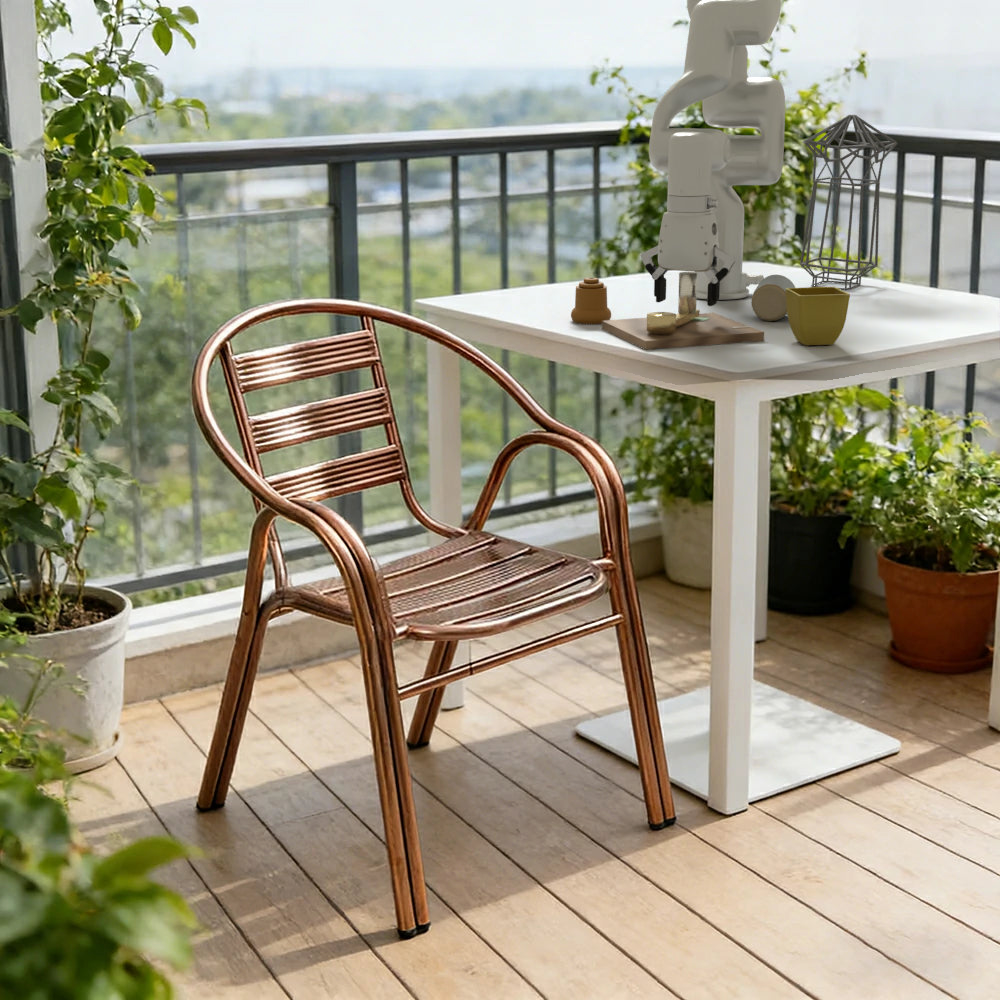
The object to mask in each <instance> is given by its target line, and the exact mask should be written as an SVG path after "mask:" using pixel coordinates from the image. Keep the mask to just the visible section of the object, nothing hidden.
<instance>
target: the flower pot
mask: <svg viewBox="0 0 1000 1000" xmlns="http://www.w3.org/2000/svg"><path fill="white" fill-rule="evenodd" d="M838 288H839V287H836V286H823V287H811V286H810V287H809V286H808V287H806V286H805V287H795V288H786V301H787V313H788V315H787V319H788V323H789V327H790V329H791V331H792V333H793V335H794V338H795V340H796V341H797V342H799V343H800V344H802V345H804V346H806V347H807V346H808V347H810V346H825V345H826V346H831V345H834V344H835V343H836V342H837V340H838V339H839V337H840V336H841V334H842V332H843V329H844V328H845V324H846V319H847V317H848V316H847V315H848V308H849V304H850V297H851V294H850V293H849V292H847V291H845V290H840V289H838Z"/></svg>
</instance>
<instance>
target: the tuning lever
mask: <svg viewBox="0 0 1000 1000" xmlns="http://www.w3.org/2000/svg"><path fill="white" fill-rule="evenodd" d="M697 299H698V298H697V273H696V272H693V271H680V272H678V303H677V304H678V305H677V307H678V308H677V310H678V311H677V312H678V313H675V312H670V311H669V312H667V311H656V312H655V311H654V312H648V313H647V314H646V318H647V332H650V333H658V334H665V333H673V332H676V327H677V326H679V325H682V324H684V323H686V322H688V321H690V320H693V319H695V318H697V317H699V314H700V309H697V304H698V303H697V301H698V300H697Z"/></svg>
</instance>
